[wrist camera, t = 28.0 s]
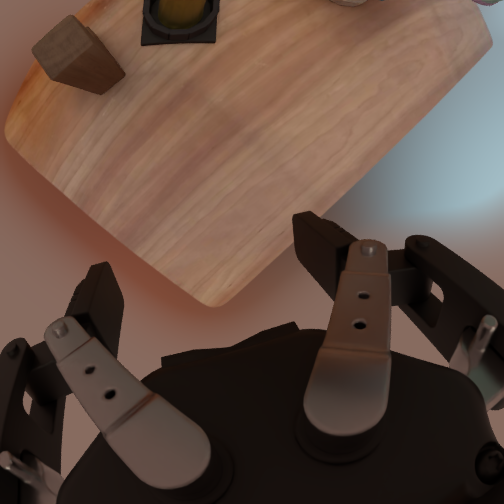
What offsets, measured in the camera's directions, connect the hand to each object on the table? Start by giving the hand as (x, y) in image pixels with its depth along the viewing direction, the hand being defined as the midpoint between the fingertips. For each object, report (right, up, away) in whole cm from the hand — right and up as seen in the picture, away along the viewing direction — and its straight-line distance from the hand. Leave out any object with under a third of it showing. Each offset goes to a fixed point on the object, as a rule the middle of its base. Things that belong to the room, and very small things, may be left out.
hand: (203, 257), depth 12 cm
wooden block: (-19, +25, +17) cm, 36 cm away
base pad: (-8, +33, +16) cm, 37 cm away
